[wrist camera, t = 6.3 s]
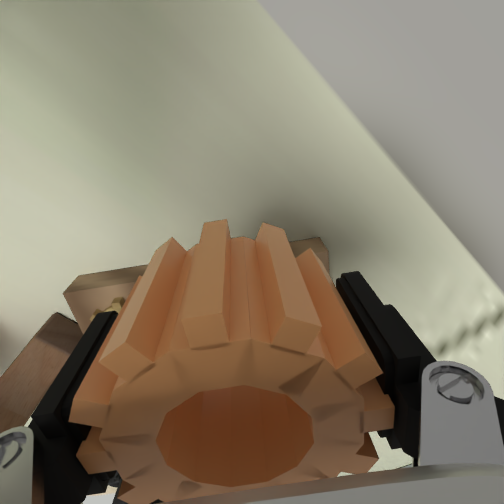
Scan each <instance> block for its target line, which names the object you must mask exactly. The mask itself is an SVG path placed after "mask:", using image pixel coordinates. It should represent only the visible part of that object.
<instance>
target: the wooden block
mask: <svg viewBox="0 0 504 504" xmlns="http://www.w3.org/2000/svg"><path fill="white" fill-rule="evenodd" d="M82 336H83V333H82V331H81V329H80V327H79V325H78V324H76V323H74V322H72V321H71V320H69V319H67V318H65V317H63V316H62V315H60V314H58V313H55V314H53V315H52V316H51V317H50V318H49V319H48V320H47V321H46V323H45V324H44V325H43V326H42V327H41V329H40V330H39V331H38V332H37V333H36V334H35V336H34V337H33V338H32V339H31V340H30V342H29V343H28V344H27V346H26V347H25V348H24V349H23V351H22V352H21V353H20V354H19V356H18V357H17V358H16V359H15V360H14V362H13V363H12V364H11V365H10V367H9V368H8V369H7V370H6V371H5V373H4V374H3V375H2V376H1V377H0V434H1V433H2V432H4V431H6V430H9V429H11V428H14V427H19V426H24V425H25V424H26V422H27V421H28V419H29V418H30V416H31V414H32V413H33V411H34V410H35V408H36V407H37V406H38V404H39V403H40V401H41V400H42V398H43V397H44V395H45V394H46V392H47V390H48V389H49V387H50V386H51V384H52V383H53V381H54V380H55V378H56V376H57V375H58V373H59V372H60V370H61V369H62V367H63V366H64V364H65V362H66V361H67V359H68V358H69V356H70V355H71V353H72V352H73V350H74V348H75V347H76V345H77V344H78V342H79V341H80V339H81V338H82Z"/></svg>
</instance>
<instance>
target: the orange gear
mask: <svg viewBox="0 0 504 504" xmlns="http://www.w3.org/2000/svg"><path fill="white" fill-rule="evenodd" d="M382 373H383V372H382V370H381V368H380V367H379V365H378V363H377V361H376V359H375V358H374V356H373V354H372V352H371V350H370V348H369V347H368V345H367V343H366V341H365V339H364V338H363V336H362V334H361V332H360V330H359V329H358V327H357V325H356V323H355V321H354V319H353V318H352V316H351V314H350V312H349V310H348V309H347V307H346V305H345V303H344V301H343V300H342V298H341V296H340V294H339V292H338V290H337V289H336V287H335V285H334V283H333V281H332V280H331V278H330V276H329V274H328V272H327V271H326V269H325V267H324V265H323V263H322V262H321V261H320V259H319V258H318V257H317V256H316V254H315V253H314V252H313V251H312V249H311V248H309V249H308V250H306V251H305V252H303V253H302V254H301V255H299V256H298V257H296V258H295V257H294V254H293V252H292V249H291V247H290V244H289V242H288V239H287V236H286V234H285V231H284V229H281V228H278V227H275V226H272V225H270V224H267V223H264V222H263V223H262V225H261V227H260V230H259V232H258V234H257V237H256V239H255V240H252V239H249V238H246V237H237V238H231V237H230V232H229V227H228V222H227V219H224V220H218V221H212V222H206V223H204V225H203V229H202V233H201V238H200V242H199V244H196V245H195V246H193V247H192V248H191V249H190V250H188V251H186V250H185V249H184V248H183V247H182V246H181V245H180V244H179V243H178V242H177V241H176V240H175V239H174V238H173V237H172V238H170V239H169V240H168V241H167V242H165V243H164V244H163V245H162V246H161V247H159V248H158V249H157V250H156V251H155V253H154V255H153V257H152V259H151V261H150V263H149V265H148V267H147V269H146V271H145V273H144V275H143V276H140V275H139V277H138V279H137V281H136V283H135V285H134V286H133V288H132V290H131V292H130V294H129V296H128V298H127V299H126V301H125V303H124V305H123V307H122V309H121V311H120V312H119V314H118V316H117V318H116V320H115V322H114V324H113V325H112V327H111V329H110V331H109V333H108V335H107V337H106V338H105V340H104V342H103V344H102V346H101V348H100V350H99V352H98V353H97V355H96V357H95V359H94V361H93V363H92V365H91V366H90V368H89V370H88V372H87V374H86V376H85V378H84V379H83V381H82V383H81V385H80V387H79V389H78V391H77V392H76V394H75V396H74V398H73V403H72V407H71V412H70V417H69V422H73V423H79V424H84V425H90V426H92V427H91V430H90V432H89V434H88V437H87V439H86V441H82V443H81V445H80V448H79V450H78V452H77V454H76V456H77V458H78V459H79V461H80V462H81V464H82V465H83V467H84V468H85V470H86V471H87V473H88V474H94V473H101V472H108V471H114V470H117V471H118V473H119V474H120V476H121V478H122V483H121V486H120V490H119V493H118V497H117V498H118V499H120V500H122V501H124V502H126V503H128V504H150V503H151V502H153V501H155V500H157V499H159V500H161V501H163V502H169V501H176V500H183V499H189V498H196V497H203V496H209V495H216V494H223V493H230V492H236V491H243V490H250V489H256V488H263V487H270V486H277V485H284V484H291V483H298V482H305V481H312V480H319V479H326V478H333V477H337V476H338V474H339V473H340V472H346V473H352V474H361V473H367V472H368V471H369V470H370V468H371V467H372V466H373V465H374V464H375V463H376V462H377V461H378V459H379V457H378V455H377V452H376V450H375V447H374V445H373V443H372V440H371V438H370V435H369V433H368V432H372V431H379V430H385V429H392V428H393V425H394V411H395V406H394V404H393V403H392V401H391V399H390V397H389V395H388V394H386V395H384V393H383V391H382V389H381V387H380V385H379V384H378V382H377V380H376V378H375V377H377V376H379V375H380V374H382Z"/></svg>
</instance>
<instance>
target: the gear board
mask: <svg viewBox="0 0 504 504" xmlns="http://www.w3.org/2000/svg"><path fill="white" fill-rule="evenodd" d="M289 244H290V247H291V249H292V252H293V254H294V257H295V258H296V257H298V256H299V255H301V254H302V253H303V252H305V251H306V250H308V249H309V248H311V249H312V251H313V252H314V253H315V254H316V256H317V257H318V258H319V259H320V261H321V262H322V263H323V265H324V267H325V269H326V271H327V272H328V274H329V257H328V250H327V248H326V247H325V245H324V244H323V242H322V241H321V239H320V237H318V238H311V239H305V240H299V241H293V242H289ZM147 267H148V265H142V266H136V267H130V268H123V269H117V270H111V271H105V272H98V273H92V274H86V275H80V276H78V277H77V278H76V279H75V280H74V281H73V282H72V284H71V285H70V286H69V287H68V288H67V289H66V290H65V291H64V293H63V295H64V297H65V299H66V301H67V303H68V305H69V307H70V309H71V311H72V313H73V315H74V317H75V319H76V321H77V323H78V325H79V327H80V329H81V331H82V333H83V334H84V333H85V331H86V330H87V328H88V327H89V325H90V324H91V322H92V320H93V319H94V317H95V316H96V315H97V314H98V313H101V312H108V311H117V312H118V314H119V312H120V311H121V309H122V307H123V305H124V303H125V301H126V299H127V298H128V296H129V294H130V292H131V290H132V288H133V286H134V285H135V283H136V281H137V279H138V277H139V275H140V276H143V275H144V273H145V271H146V269H147Z"/></svg>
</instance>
